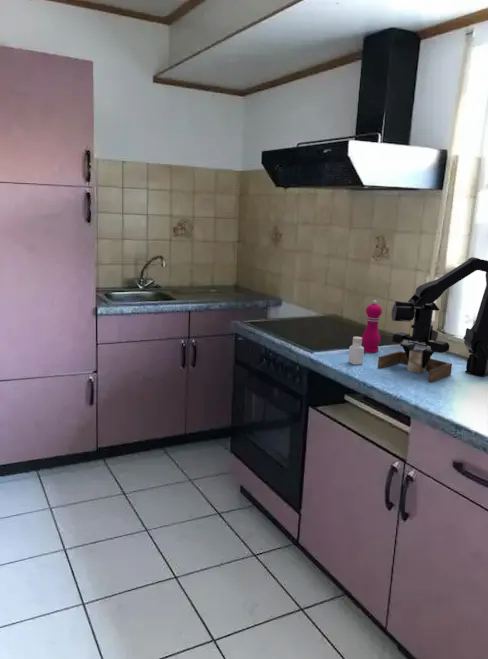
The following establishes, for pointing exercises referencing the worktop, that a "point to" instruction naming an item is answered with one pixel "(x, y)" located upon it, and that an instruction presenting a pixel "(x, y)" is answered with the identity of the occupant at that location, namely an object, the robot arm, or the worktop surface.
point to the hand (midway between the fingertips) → (417, 366)
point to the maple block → (416, 361)
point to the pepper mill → (372, 328)
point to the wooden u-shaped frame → (434, 366)
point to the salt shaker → (356, 351)
